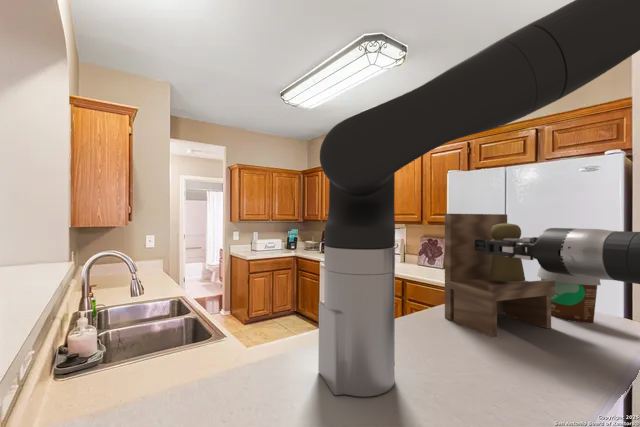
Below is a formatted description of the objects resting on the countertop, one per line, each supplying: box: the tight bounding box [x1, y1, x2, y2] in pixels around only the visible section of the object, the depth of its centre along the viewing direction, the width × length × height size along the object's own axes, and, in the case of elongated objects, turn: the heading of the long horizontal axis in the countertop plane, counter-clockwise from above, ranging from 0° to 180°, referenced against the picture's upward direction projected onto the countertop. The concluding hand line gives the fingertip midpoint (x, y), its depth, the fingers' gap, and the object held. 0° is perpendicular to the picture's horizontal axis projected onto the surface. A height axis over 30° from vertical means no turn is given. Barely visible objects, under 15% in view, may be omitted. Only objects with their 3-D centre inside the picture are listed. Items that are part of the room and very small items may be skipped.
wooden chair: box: [444, 213, 555, 338], centre depth 61 cm, size 16×12×22 cm
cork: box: [490, 222, 526, 282], centre depth 60 cm, size 6×6×11 cm
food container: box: [537, 266, 601, 324], centre depth 66 cm, size 12×6×10 cm, turn 6°
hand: (489, 244), depth 63 cm, fingers open, 6 cm apart
